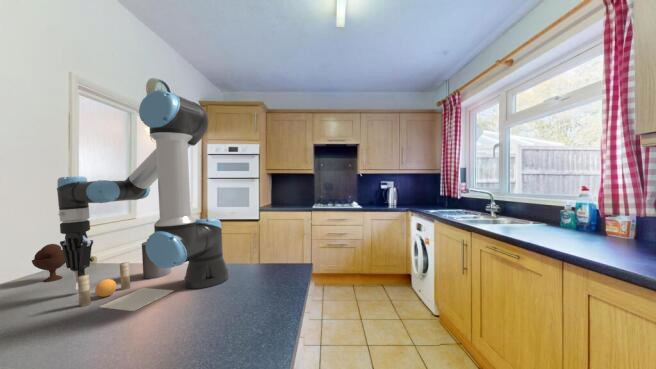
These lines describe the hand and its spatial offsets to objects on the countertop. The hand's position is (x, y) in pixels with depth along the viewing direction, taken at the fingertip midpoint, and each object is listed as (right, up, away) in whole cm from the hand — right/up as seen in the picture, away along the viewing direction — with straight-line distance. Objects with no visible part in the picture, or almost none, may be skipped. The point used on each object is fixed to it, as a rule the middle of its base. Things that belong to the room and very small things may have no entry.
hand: (79, 288), depth 92 cm
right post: (+14, -1, +3) cm, 15 cm away
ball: (+12, +1, -4) cm, 13 cm away
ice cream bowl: (-27, -4, +17) cm, 32 cm away
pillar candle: (+17, -1, +16) cm, 23 cm away
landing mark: (+26, -1, -7) cm, 27 cm away
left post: (+11, -1, -10) cm, 15 cm away
